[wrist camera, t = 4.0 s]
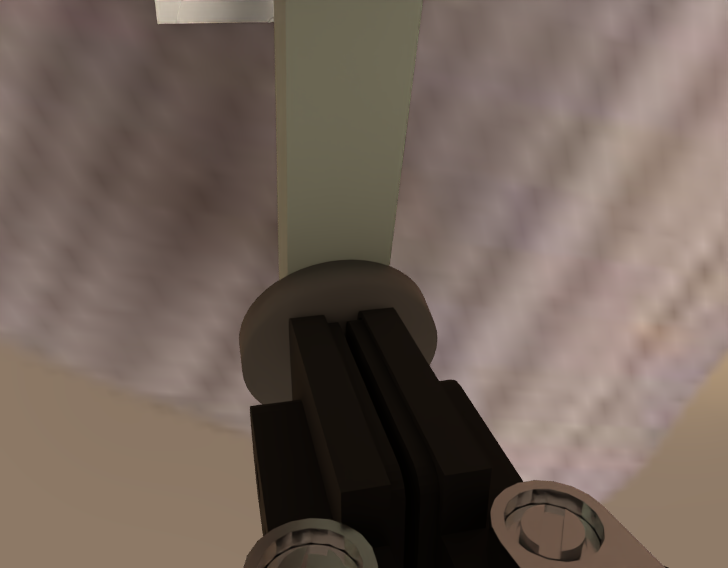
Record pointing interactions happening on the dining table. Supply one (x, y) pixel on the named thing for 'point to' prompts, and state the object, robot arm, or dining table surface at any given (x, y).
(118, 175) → the dining table surface
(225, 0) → the pivot stand
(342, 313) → the lever
